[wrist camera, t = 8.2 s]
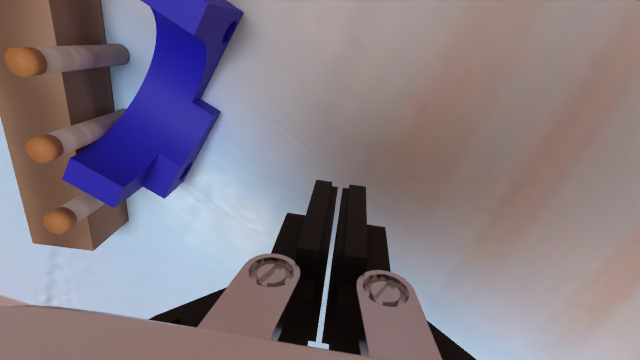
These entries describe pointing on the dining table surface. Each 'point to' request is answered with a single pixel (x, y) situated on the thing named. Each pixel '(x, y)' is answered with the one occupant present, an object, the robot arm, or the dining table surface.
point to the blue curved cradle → (161, 107)
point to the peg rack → (57, 113)
